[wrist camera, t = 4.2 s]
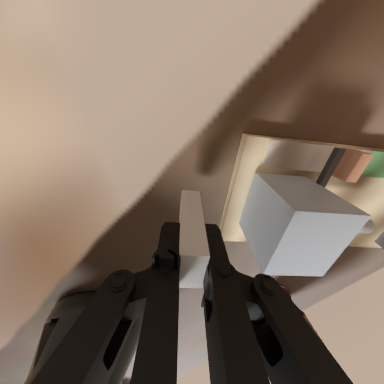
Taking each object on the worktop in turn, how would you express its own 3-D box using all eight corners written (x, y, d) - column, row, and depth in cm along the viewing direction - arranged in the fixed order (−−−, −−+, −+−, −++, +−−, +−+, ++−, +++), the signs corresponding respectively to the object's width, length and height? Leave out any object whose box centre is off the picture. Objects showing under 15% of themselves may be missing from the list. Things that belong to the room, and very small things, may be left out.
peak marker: (328, 173, 15) (345, 181, 13) (342, 147, 14) (362, 153, 12) (337, 174, 15) (355, 182, 13) (352, 148, 14) (374, 154, 12)
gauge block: (238, 223, 17) (262, 275, 12) (265, 138, 13) (321, 161, 8) (322, 228, 18) (378, 277, 13) (373, 149, 14) (487, 177, 9)
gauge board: (217, 233, 20) (236, 305, 13) (242, 133, 14) (302, 163, 7) (379, 241, 22) (473, 307, 15) (457, 157, 16) (670, 198, 9)
